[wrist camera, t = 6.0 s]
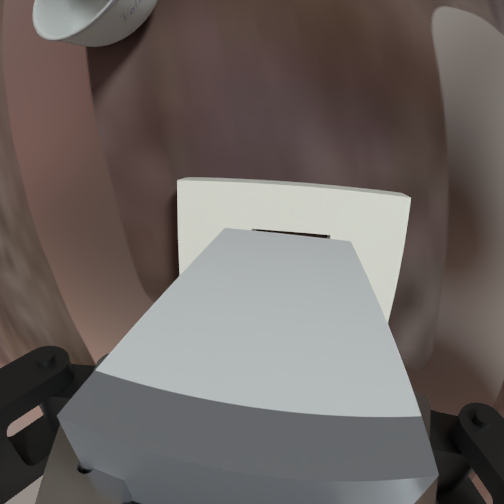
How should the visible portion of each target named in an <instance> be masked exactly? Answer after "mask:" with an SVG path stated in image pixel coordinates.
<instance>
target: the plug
mask: <svg viewBox="0 0 504 504" xmlns="http://www.w3.org/2000/svg"><path fill="white" fill-rule="evenodd" d="M57 417H58V419H59V422H60V424H61V426H62V428H63V430H64V432H65V434H66V436H67V438H68V440H69V442H70V444H71V446H72V448H73V450H74V452H75V454H76V455H77V457H78V459H79V461H80V463H81V464H82V466H83V468H84V470H85V471H86V473H87V474H88V473H90V472H91V471H92V469H93V468H95V469H97V470H99V471H102V472H104V473H107V474H109V475H112V476H114V477H117V478H119V479H122V480H124V481H125V483H126V485H127V487H128V489H129V491H130V493H131V495H132V499H131V500H132V501H135V502H138V503H141V504H414V503H415V502H416V501H417V500H418V499H419V498H420V497H421V495H422V494H423V493H424V492H425V491H426V490H427V489H428V488H429V486H430V485H431V484H432V483H433V482H434V481H435V479H436V478H437V477H438V476H439V473H438V470H437V466H436V462H435V459H434V455H433V452H432V448H431V445H430V441H429V438H428V435H427V432H426V428H425V425H424V422H423V419H422V416H421V413H420V410H419V407H418V404H417V401H416V398H415V395H414V392H413V389H412V386H411V384H410V381H409V378H408V376H407V372H406V370H405V367H404V364H403V362H402V359H401V356H400V354H399V351H398V349H397V346H396V344H395V341H394V338H393V336H392V333H391V331H390V329H389V326H388V324H387V321H386V319H385V316H384V314H383V312H382V309H381V307H380V305H379V302H378V300H377V298H376V295H375V293H374V291H373V288H372V286H371V284H370V282H369V279H368V277H367V275H366V273H365V271H364V268H363V266H362V264H361V262H360V260H359V258H358V256H357V253H356V251H355V249H354V247H353V245H352V243H351V241H344V240H336V239H327V238H318V237H309V236H300V235H291V234H281V233H272V232H262V231H252V230H242V229H232V228H224V229H223V230H222V231H221V232H220V233H219V234H218V235H217V237H216V238H215V239H214V240H213V241H212V242H211V243H210V244H209V245H208V246H207V247H206V248H205V249H204V250H203V251H202V252H201V253H200V254H199V256H198V257H197V258H196V259H195V260H194V261H193V262H192V263H191V264H190V265H189V266H188V267H187V268H186V269H185V270H184V272H183V273H182V274H181V275H180V276H179V277H178V278H177V279H176V280H175V281H174V282H173V283H172V285H171V286H170V287H169V288H168V289H167V290H166V291H165V292H164V293H163V294H162V295H161V297H160V298H159V299H158V300H157V301H156V302H155V303H154V304H153V305H152V306H151V308H150V309H149V310H148V311H147V312H146V313H145V314H144V315H143V316H142V318H141V319H140V320H139V321H138V322H137V323H136V324H135V325H134V326H133V328H132V329H131V330H130V331H129V332H128V333H127V334H126V335H125V337H124V338H123V339H122V340H121V341H120V342H119V343H118V345H117V346H116V347H115V348H114V349H113V350H112V351H111V352H110V354H109V355H108V356H107V357H106V358H105V359H104V361H103V362H102V363H101V364H100V365H99V366H98V367H97V369H96V370H95V371H94V372H93V373H92V374H91V376H90V377H89V378H88V379H87V380H86V381H85V383H84V384H83V385H82V386H81V387H80V388H79V390H78V391H77V392H76V393H75V394H74V396H73V397H72V398H71V399H70V400H69V402H68V403H67V404H66V405H65V406H64V408H63V409H62V410H61V411H60V412H59V414H58V415H57Z"/></svg>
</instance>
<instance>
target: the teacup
mask: <svg viewBox="0 0 504 504" xmlns="http://www.w3.org/2000/svg"><path fill="white" fill-rule="evenodd" d="M156 3H157V0H35V2H34V6H33V24H34V27H35V30H36V31H37V33H38V34H39V35H40V36H41V37H42V38H44V39H46V40H49V41H62V42H66V43H71V44H76V45H81V46H89V47H99V46H106V45H110V44H113V43H115V42H118V41H120V40H122V39H124V38H125V37H127V36H128V35H130V34H131V33H133V32H134V31H135V30H136V29H137V28H138V27H140V26H141V25H142V24H143V22H144V21H145V20H146V19H147V18H148V16H149V15H150V14H151V12H152V11H153V9H154V7H155V5H156Z"/></svg>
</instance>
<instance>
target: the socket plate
mask: <svg viewBox="0 0 504 504" xmlns="http://www.w3.org/2000/svg"><path fill="white" fill-rule="evenodd" d="M410 202H411V198H410V197H409V196H407V195H405V194H403V193H397V192H390V191H381V190H373V189H364V188H355V187H345V186H335V185H324V184H312V183H300V182H286V181H270V180H253V179H232V178H202V177H187V178H183V179H180V180H177V213H178V251H179V274H180V275H181V274H182V273H183V272H184V270H185V269H186V268H187V267H188V266H189V265H190V264H191V263H192V262H193V261H194V260H195V259H196V258H197V257H198V256H199V254H200V253H201V252H202V251H203V250H204V249H205V248H206V247H207V246H208V245H209V244H210V243H211V242H212V241H213V240H214V239H215V238H216V237H217V235H218V234H219V233H220V232H221V231H222V230H223V229H224V228H232V229H242V230H252V231H256V229H262V230H275V231H287V232H300V233H312V234H323V235H327V239H336V240H344V241H351V243H352V245H353V247H354V249H355V251H356V253H357V256H358V258H359V260H360V262H361V264H362V266H363V268H364V271H365V273H366V275H367V277H368V279H369V282H370V284H371V286H372V288H373V291H374V293H375V295H376V298H377V300H378V302H379V305H380V307H381V309H382V312H383V314H384V316H385V319H386V321H387V324H388V320H389V316H390V312H391V308H392V303H393V299H394V294H395V290H396V285H397V280H398V276H399V271H400V265H401V260H402V255H403V249H404V243H405V237H406V231H407V224H408V217H409V209H410Z"/></svg>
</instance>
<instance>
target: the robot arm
mask: <svg viewBox="0 0 504 504" xmlns="http://www.w3.org/2000/svg"><path fill="white" fill-rule="evenodd" d="M109 354H110V353H109ZM109 354H106V355H105V356H103V357H102V358H101V359H100V360H99V361H98V362H97V364H96V366H89V365H74V364H71V362H70V358H69V355H68V353H67V352H66V351H65V350H64V349H62V348H60V347H56V346H44V347H40V348H37V349H35V350H33V351H31V352H29V353H27V354H25V355H24V356H22V357H20V358H18V359H16V360H15V361H13V362H11V363H9V364H7V365H6V366H4V367H2V368H0V504H4V503H6V502H7V501H8V500H9V499H11V498H12V497H14V496H15V495H17V494H18V493H19V492H21V491H22V490H23V489H25V488H26V487H27V486H28V485H30V484H31V483H33V482H34V481H35V480H37V479H38V478H39V477H41V476H42V475H43V478H42V481H41V484H40V488H39V492H38V495H37V499H36V503H35V504H141V503H138V502H135V501H132V500H131V499H132V495H131V493H130V491H129V489H128V487H127V485H126V483H125V481H124V480H122V479H119V478H117V477H114V476H112V475H109V474H107V473H104V472H102V471H99V470H97V469H95V468H93V469H92V471H91V472H90V473H88V474H87V473H86V471H85V470H84V468H83V466H82V464H81V463H80V461H79V459H78V457H77V455H76V454H75V452H74V450H73V448H72V446H71V444H70V442H69V440H68V438H67V436H66V434H65V432H64V430H63V428H62V426H61V424H60V422H59V419H58V417H57V415H58V414H59V412H60V411H61V410H62V409H63V408H64V406H65V405H66V404H67V403H68V402H69V400H70V399H71V398H72V397H73V396H74V394H75V393H76V392H77V391H78V390H79V388H80V387H81V386H82V385H83V384H84V383H85V381H86V380H87V379H88V378H89V377H90V376H91V374H92V373H93V372H94V371H95V370H96V369H97V367H98V366H99V365H100V364H101V363H102V362H103V361H104V359H105V358H106V357H107V356H108V355H109ZM413 392H414V395H415V398H416V401H417V404H418V407H419V410H420V413H421V416H422V419H423V422H424V425H425V428H426V432H427V435H428V438H429V441H430V445H431V448H432V452H433V455H434V459H435V462H436V466H437V470H438V473H439V476H438V477H437V478H436V479H435V481H434V482H433V483H432V484H431V485H430V486H429V488H428V489H427V490H426V491H425V492H424V493H423V494H422V495H421V497H420V498H419V499H418V500H417V501H416V502H415V503H414V504H486V502H485V501H484V499H483V498H482V496H481V495H480V493H479V492H478V490H477V489H476V487H475V486H474V484H473V483H472V481H471V480H470V478H469V477H468V476H469V475H470V474H471V473H472V472H473V470H474V471H475V473H476V474H477V475H478V477H479V478H480V480H481V481H482V482H483V484H484V486H485V487H486V489H487V490H488V491H489V493H490V494H491V496H492V499H493V504H504V418H503V417H502V416H501V415H500V414H499V413H498V412H497V411H496V410H495V409H494V408H492V407H490V406H488V405H486V404H483V403H470V404H467V405H465V406H464V407H463V408H462V409H461V411H460V413H459V414H458V416H455V415H450V414H445V413H440V412H436V411H433V410H431V409H430V404H429V402H428V400H427V399H426V398H425V397H424V396H423V395H422V394H421V393H420V392H418V391H416V390H414V389H413ZM38 405H39V406H40V408H41V410H42V412H43V416H41V417H40V418H38V419H37V420H36V421H34V422H33V423H31V424H30V425H28V426H27V427H25V428H24V429H22V430H21V431H19V432H18V433H16V434H15V435H13V436H11V437H7V428H8V426H9V425H10V424H11V423H12V422H13V421H15V420H16V419H18V418H19V417H21V416H22V415H24V414H25V413H27V412H29V411H30V410H31V409H33V408H35V407H36V406H38Z"/></svg>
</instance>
